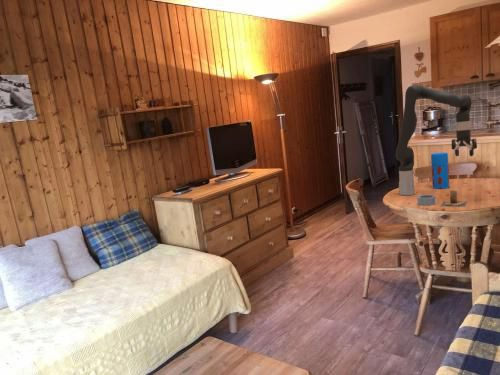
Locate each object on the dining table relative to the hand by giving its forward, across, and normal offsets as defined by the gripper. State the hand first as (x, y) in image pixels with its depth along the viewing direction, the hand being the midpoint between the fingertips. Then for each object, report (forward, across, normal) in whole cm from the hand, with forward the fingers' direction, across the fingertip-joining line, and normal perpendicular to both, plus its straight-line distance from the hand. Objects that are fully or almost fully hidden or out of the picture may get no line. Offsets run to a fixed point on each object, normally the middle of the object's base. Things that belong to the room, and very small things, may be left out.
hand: (464, 156), depth 231 cm
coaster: (+27, 0, -13) cm, 30 cm away
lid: (+27, 0, -13) cm, 30 cm away
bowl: (+27, -13, -19) cm, 36 cm away
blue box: (+28, -35, +27) cm, 52 cm away
